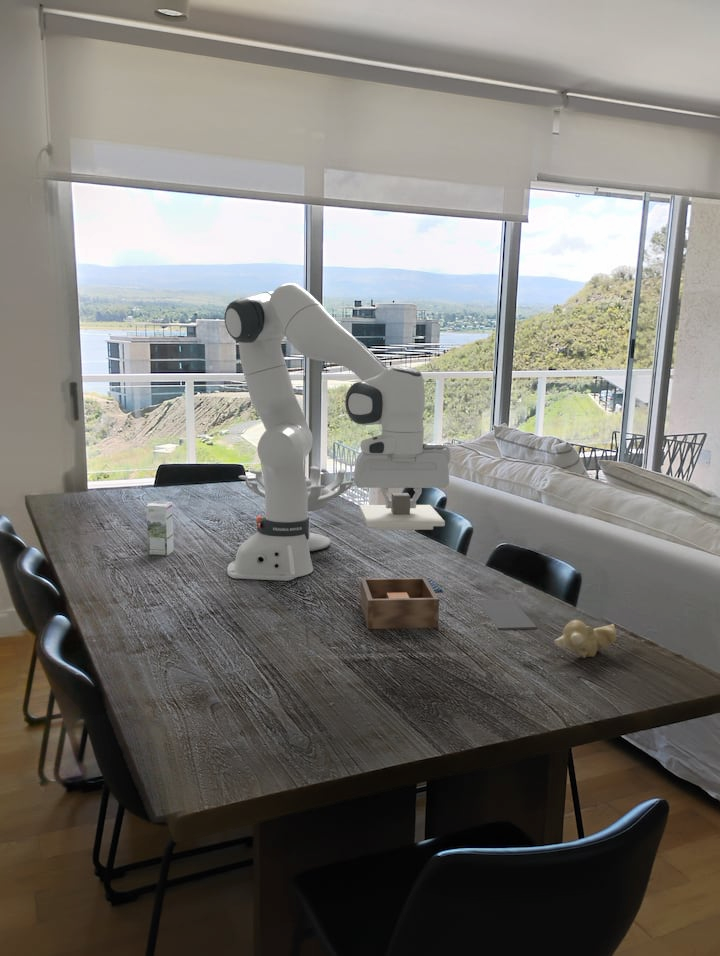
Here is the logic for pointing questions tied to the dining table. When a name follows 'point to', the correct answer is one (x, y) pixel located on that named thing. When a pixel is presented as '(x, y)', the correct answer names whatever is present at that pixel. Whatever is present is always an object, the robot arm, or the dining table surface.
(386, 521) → the lid
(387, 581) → the walnut box
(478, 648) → the dining table surface
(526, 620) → the rubber mat
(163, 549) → the syrup box
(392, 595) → the terracotta block
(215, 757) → the dining table surface
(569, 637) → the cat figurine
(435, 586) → the woven mat
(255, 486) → the candelabra
